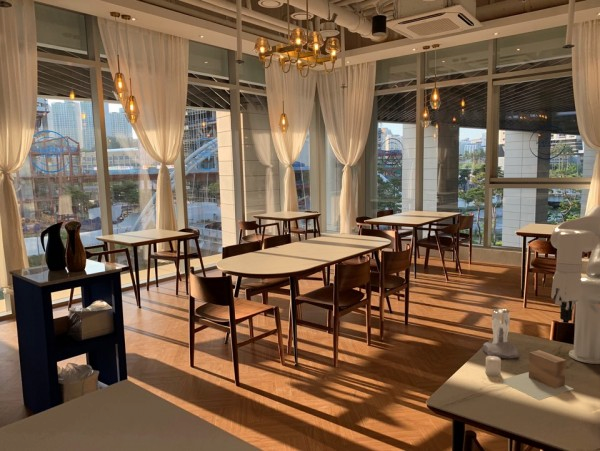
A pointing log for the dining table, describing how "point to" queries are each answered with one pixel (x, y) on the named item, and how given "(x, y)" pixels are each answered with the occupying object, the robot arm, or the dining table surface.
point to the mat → (533, 386)
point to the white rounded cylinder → (493, 366)
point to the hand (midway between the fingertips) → (565, 319)
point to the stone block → (500, 350)
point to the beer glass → (500, 325)
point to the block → (547, 369)
